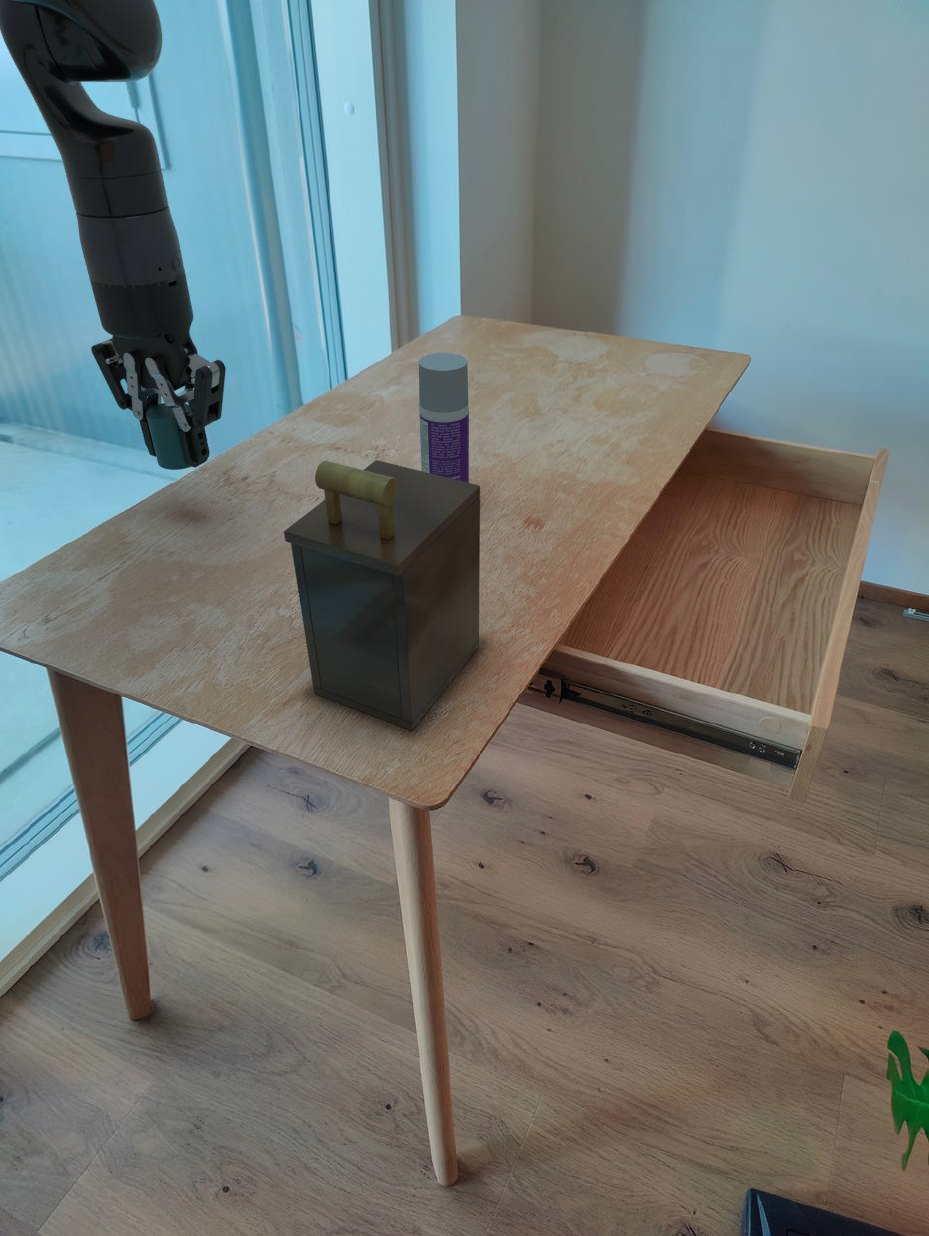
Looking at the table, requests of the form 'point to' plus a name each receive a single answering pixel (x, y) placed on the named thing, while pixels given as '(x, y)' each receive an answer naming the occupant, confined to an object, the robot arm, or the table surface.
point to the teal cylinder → (166, 437)
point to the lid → (380, 513)
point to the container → (444, 415)
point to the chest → (392, 624)
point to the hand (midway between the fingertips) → (179, 457)
